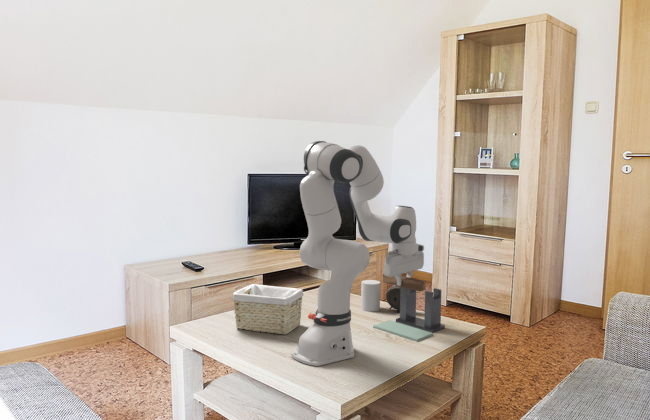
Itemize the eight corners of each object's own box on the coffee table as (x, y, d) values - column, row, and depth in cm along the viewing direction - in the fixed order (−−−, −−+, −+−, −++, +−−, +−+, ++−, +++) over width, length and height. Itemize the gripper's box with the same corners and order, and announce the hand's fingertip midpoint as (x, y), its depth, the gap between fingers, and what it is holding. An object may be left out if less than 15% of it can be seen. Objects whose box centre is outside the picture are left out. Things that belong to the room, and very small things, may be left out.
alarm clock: (413, 311, 230) (413, 274, 228) (409, 315, 225) (409, 277, 223) (388, 308, 234) (389, 272, 233) (384, 311, 230) (385, 274, 228)
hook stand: (432, 332, 203) (433, 293, 201) (395, 321, 216) (396, 285, 214) (444, 328, 208) (445, 290, 206) (407, 317, 221) (408, 281, 219)
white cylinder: (382, 308, 235) (383, 281, 233) (374, 312, 228) (374, 285, 227) (366, 305, 239) (366, 279, 238) (357, 309, 232) (358, 282, 231)
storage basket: (231, 329, 206) (230, 292, 205) (252, 317, 221) (251, 282, 220) (287, 337, 197) (286, 298, 196) (304, 324, 212) (304, 288, 211)
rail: (420, 291, 195) (420, 282, 195) (382, 282, 208) (382, 274, 208) (425, 289, 197) (425, 281, 197) (388, 280, 210) (388, 272, 210)
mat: (416, 341, 193) (416, 339, 193) (373, 327, 208) (373, 325, 208) (432, 335, 200) (433, 333, 200) (389, 322, 215) (389, 320, 215)
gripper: (392, 253, 191) (392, 290, 193) (426, 245, 205) (426, 280, 207) (379, 250, 196) (379, 287, 198) (413, 243, 210) (413, 277, 212)
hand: (403, 284), depth 203 cm, fingers closed on rail, 3 cm apart
